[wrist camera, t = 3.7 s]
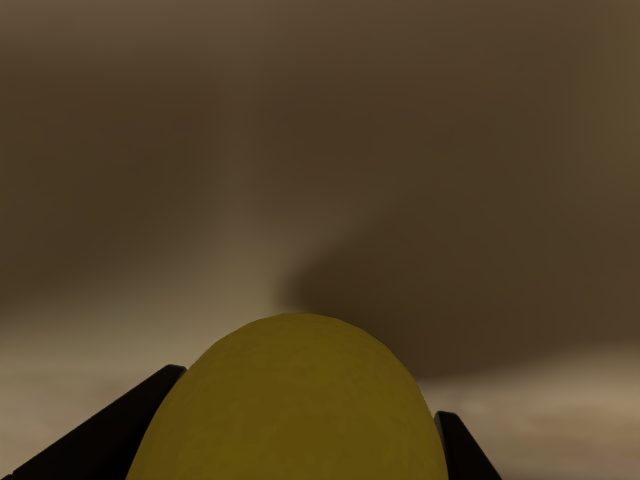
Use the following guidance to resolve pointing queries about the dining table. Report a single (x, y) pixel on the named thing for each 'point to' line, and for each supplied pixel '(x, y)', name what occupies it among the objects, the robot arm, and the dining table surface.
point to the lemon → (293, 410)
